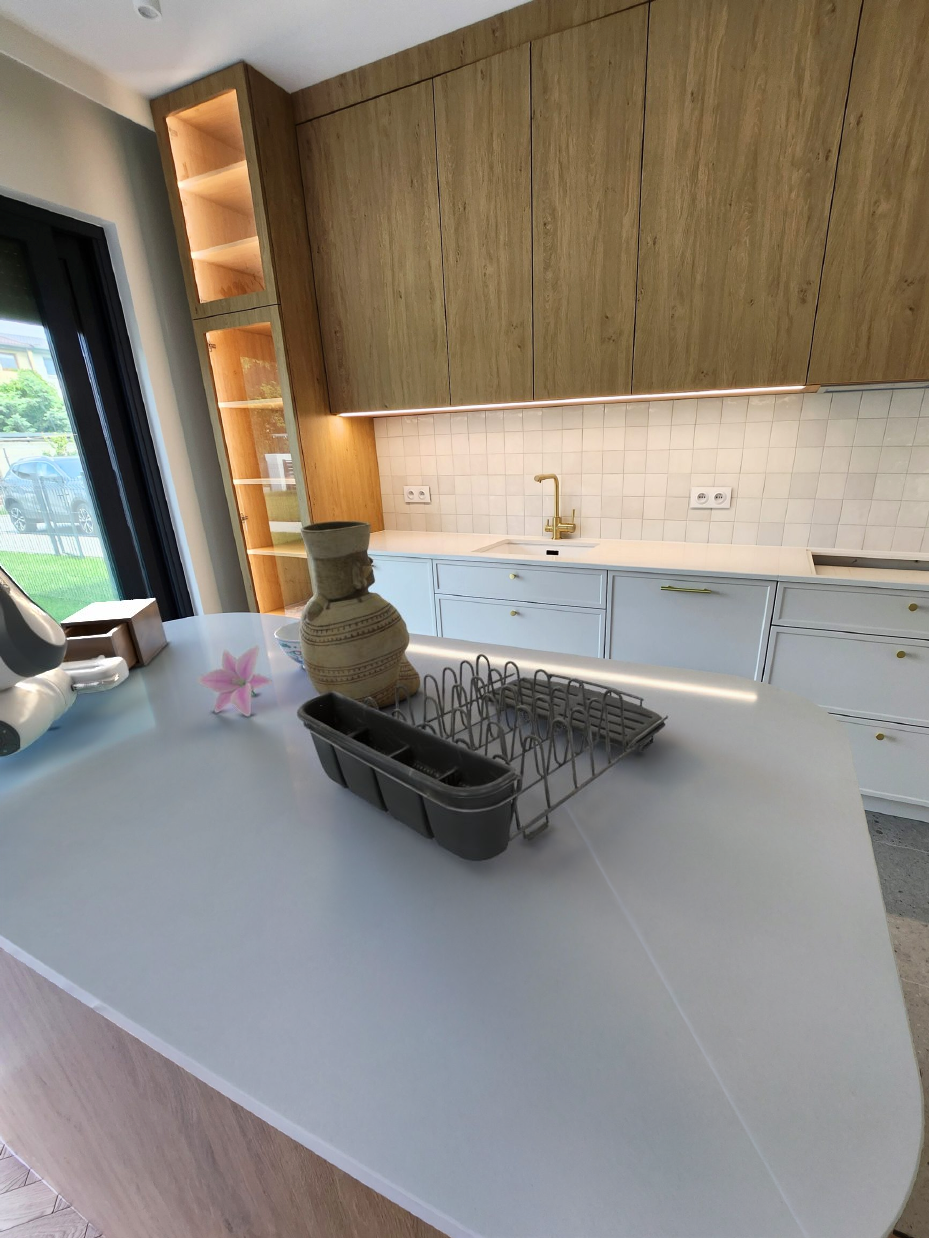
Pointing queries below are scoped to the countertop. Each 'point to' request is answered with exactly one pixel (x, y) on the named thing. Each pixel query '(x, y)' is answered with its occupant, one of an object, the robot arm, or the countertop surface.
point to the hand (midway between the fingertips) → (76, 661)
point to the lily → (235, 681)
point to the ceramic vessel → (352, 621)
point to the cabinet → (140, 622)
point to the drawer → (100, 642)
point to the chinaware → (290, 641)
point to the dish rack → (468, 753)
